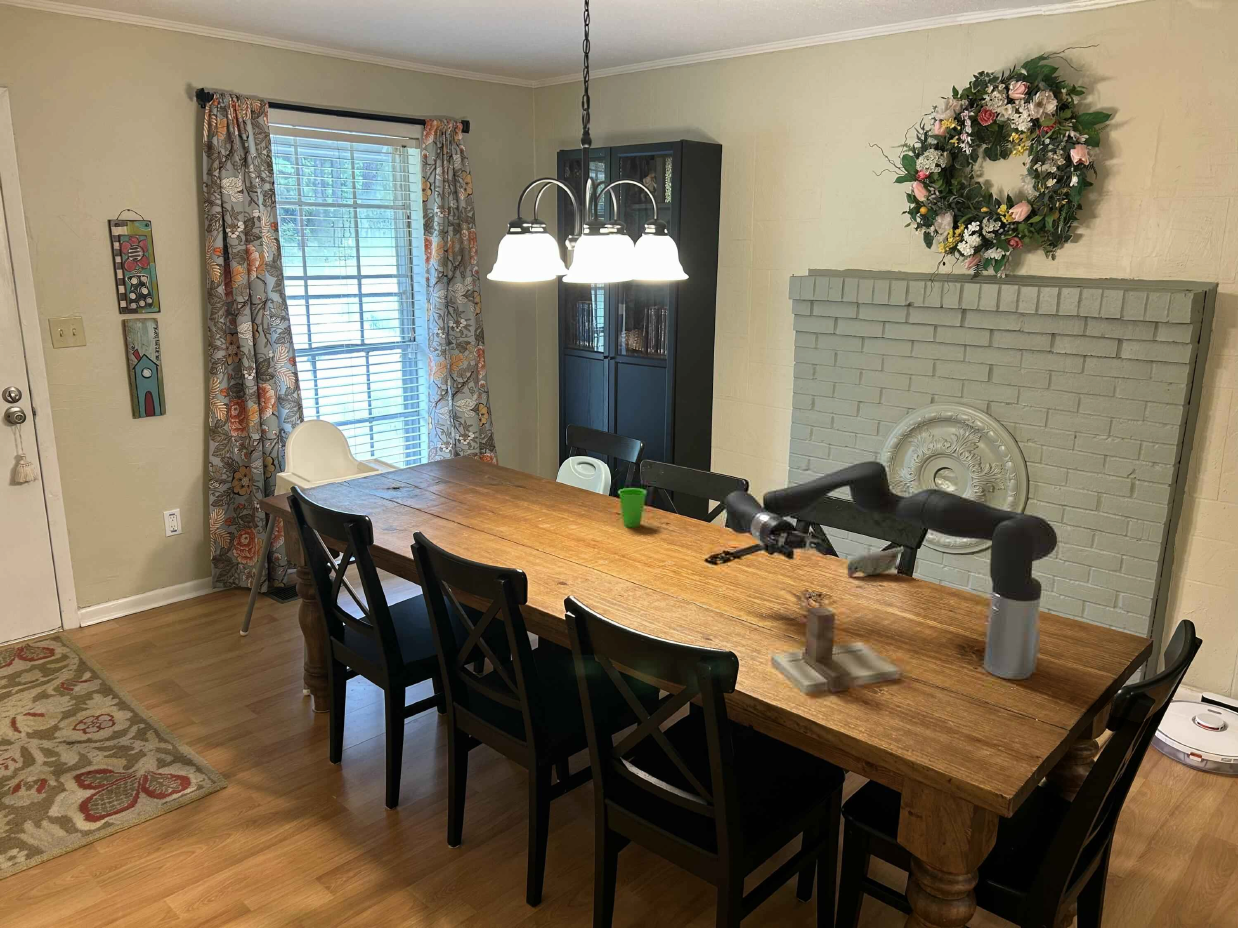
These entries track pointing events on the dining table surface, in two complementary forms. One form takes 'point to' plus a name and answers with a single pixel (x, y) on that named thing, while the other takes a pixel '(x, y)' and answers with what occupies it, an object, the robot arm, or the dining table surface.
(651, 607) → the dining table surface
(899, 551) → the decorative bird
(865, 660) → the maple board
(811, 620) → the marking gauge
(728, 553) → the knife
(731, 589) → the dining table surface
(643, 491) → the cup
